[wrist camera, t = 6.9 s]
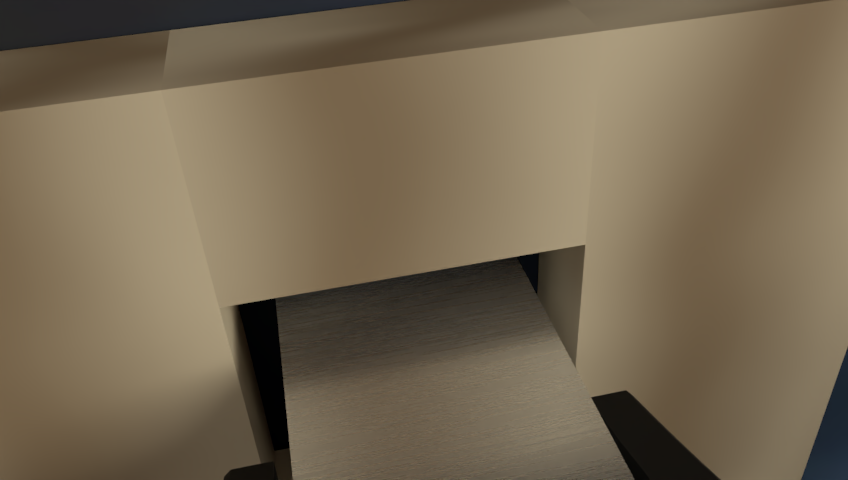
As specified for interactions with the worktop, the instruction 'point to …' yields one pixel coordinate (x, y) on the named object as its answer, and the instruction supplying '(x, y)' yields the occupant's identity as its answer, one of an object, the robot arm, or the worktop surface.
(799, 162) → the socket board
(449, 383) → the square peg
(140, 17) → the worktop surface
